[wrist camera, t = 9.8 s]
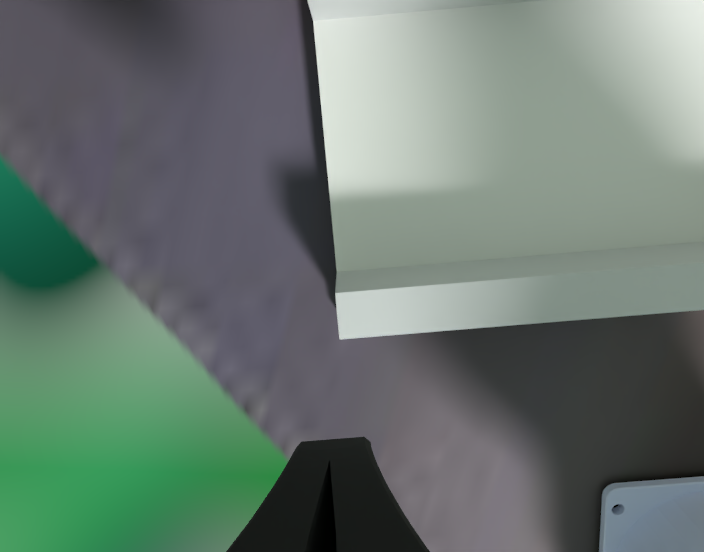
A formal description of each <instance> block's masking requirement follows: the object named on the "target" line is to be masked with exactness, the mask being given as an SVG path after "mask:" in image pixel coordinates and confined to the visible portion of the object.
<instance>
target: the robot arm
mask: <svg viewBox="0 0 704 552" xmlns="http://www.w3.org/2000/svg"><path fill="white" fill-rule="evenodd" d="M617 504H619V505H618V506H617V507H616V508H613V507H614V506H615V505H617ZM226 552H430V551H429V550H428V549H427V547H426V546H425V544H424V543H423V542H422V540H421V539H420V537H419V536H418V534H417V533H416V531H415V530H414V529H413V527H412V526H411V524H410V522H409V521H408V519H407V518H406V516H405V515H404V513H403V512H402V510H401V508H400V506H399V505H398V503H397V501H396V499H395V498H394V496H393V494H392V493H391V491H390V489H389V487H388V485H387V484H386V482H385V480H384V478H383V476H382V473H381V471H380V469H379V467H378V465H377V462H376V460H375V457H374V455H373V452H372V448H371V443H370V441H369V440H367V439H366V438H365V437H356V438H343V439H331V440H318V441H305V442H301V443H300V444H299V445H298V446H297V447H296V449H295V451H294V453H293V455H292V456H291V458H290V460H289V462H288V463H287V465H286V467H285V469H284V470H283V472H282V473H281V475H280V477H279V478H278V480H277V481H276V483H275V485H274V486H273V488H272V489H271V491H270V492H269V494H268V495H267V497H266V498H265V500H264V501H263V503H262V504H261V506H260V507H259V509H258V510H257V511H256V513H255V514H254V516H253V517H252V519H251V520H250V521H249V523H248V524H247V525H246V527H245V528H244V530H243V531H242V532H241V533H240V535H239V536H238V537H237V538H236V540H235V541H234V542H233V544H232V545H231V546H230V548H229V549H228V550H227V551H226ZM599 552H704V476H700V477H687V478H674V479H661V480H648V481H635V482H623V483H613V484H610V485H608V486H607V487H606V488H605V489H604V490H603V493H602V507H601V525H600V542H599Z"/></svg>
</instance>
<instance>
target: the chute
mask: <svg viewBox="0 0 704 552" xmlns="http://www.w3.org/2000/svg"><path fill="white" fill-rule="evenodd" d="M307 1H308V5H309V8H310V12H311V15H312V19H313V25H314V36H315V46H316V57H317V68H318V78H319V89H320V99H321V110H322V121H323V131H324V142H325V153H326V163H327V174H328V184H329V195H330V206H331V216H332V227H333V238H334V248H335V259H336V269H337V275H336V288H335V297H336V307H337V318H338V328H339V339H351V338H363V337H375V336H388V335H400V334H412V333H425V332H437V331H449V330H462V329H474V328H486V327H499V326H511V325H523V324H536V323H548V322H560V321H573V320H585V319H597V318H610V317H622V316H634V315H646V314H659V313H671V312H683V311H696V310H704V0H307Z"/></svg>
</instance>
